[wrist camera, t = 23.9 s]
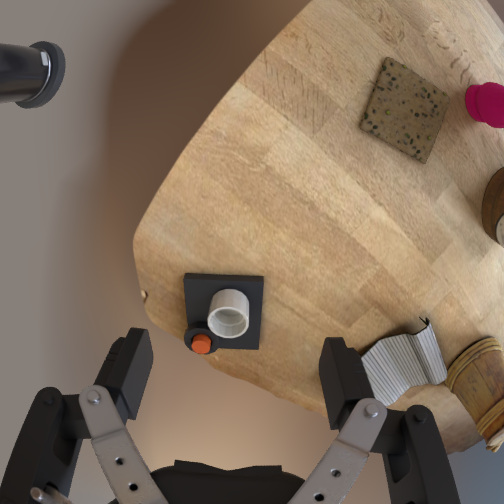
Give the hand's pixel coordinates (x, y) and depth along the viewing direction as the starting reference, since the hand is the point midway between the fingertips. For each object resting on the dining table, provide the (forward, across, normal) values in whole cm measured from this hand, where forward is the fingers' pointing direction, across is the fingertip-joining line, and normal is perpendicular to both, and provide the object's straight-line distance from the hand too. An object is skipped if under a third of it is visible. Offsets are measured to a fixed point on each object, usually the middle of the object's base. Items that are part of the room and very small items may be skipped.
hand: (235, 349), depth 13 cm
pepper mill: (+30, -36, -18) cm, 50 cm away
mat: (+30, -32, +37) cm, 57 cm away
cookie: (+30, -22, -13) cm, 40 cm away
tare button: (+27, +6, +25) cm, 37 cm away
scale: (+30, +3, +21) cm, 37 cm away
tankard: (+30, -61, +42) cm, 80 cm away
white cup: (+28, +2, +18) cm, 34 cm away
